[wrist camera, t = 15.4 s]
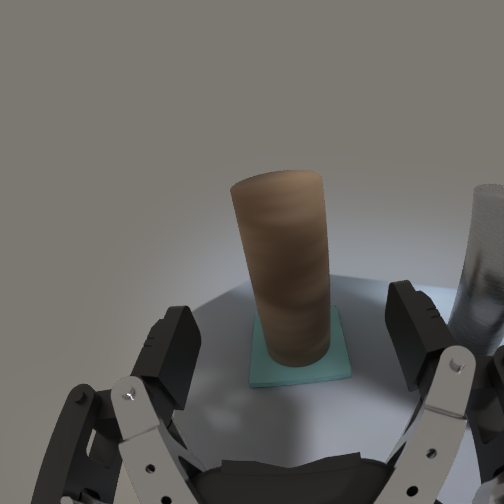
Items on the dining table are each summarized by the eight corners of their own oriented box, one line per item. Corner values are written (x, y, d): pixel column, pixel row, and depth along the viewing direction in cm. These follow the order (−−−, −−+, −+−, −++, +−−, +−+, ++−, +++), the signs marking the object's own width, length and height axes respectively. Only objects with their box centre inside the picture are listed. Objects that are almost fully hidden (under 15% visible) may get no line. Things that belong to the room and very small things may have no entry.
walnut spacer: (325, 316, 21) (313, 166, 16) (335, 361, 17) (331, 187, 11) (266, 324, 22) (235, 178, 16) (266, 370, 18) (224, 203, 12)
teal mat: (336, 310, 22) (335, 305, 22) (350, 377, 16) (351, 372, 16) (255, 320, 23) (254, 315, 23) (250, 387, 17) (248, 383, 17)
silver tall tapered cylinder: (471, 322, 16) (502, 181, 11) (499, 360, 12) (556, 211, 6) (429, 341, 17) (457, 188, 11) (456, 387, 12) (520, 225, 7)
